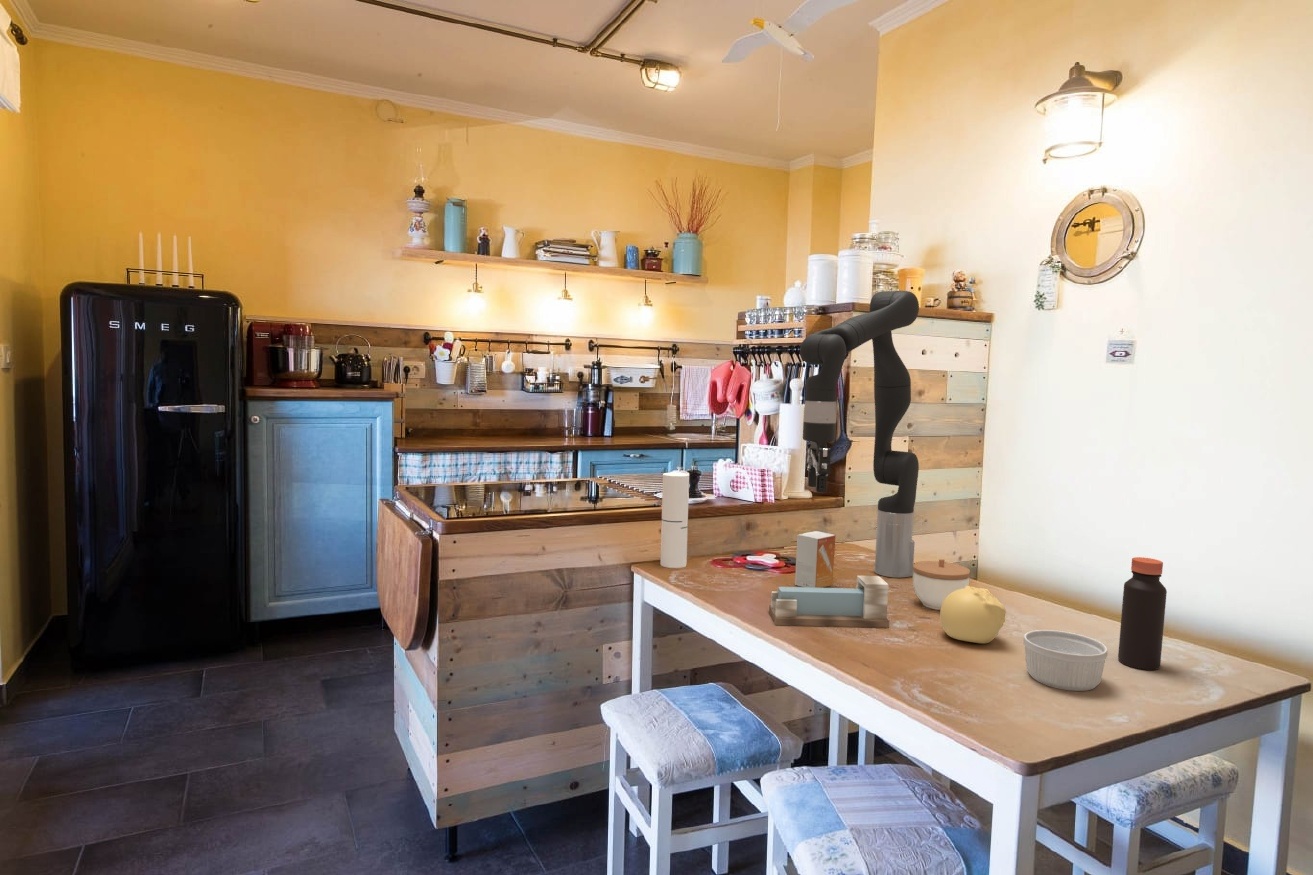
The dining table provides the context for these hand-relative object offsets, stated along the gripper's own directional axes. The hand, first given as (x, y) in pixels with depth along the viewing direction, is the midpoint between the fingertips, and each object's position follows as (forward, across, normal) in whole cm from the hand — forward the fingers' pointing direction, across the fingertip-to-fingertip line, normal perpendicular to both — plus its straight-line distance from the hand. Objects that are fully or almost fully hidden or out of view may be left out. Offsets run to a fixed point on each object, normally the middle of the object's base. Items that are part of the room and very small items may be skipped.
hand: (816, 489), depth 179 cm
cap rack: (+26, -16, 0) cm, 31 cm away
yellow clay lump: (+26, -26, -27) cm, 46 cm away
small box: (+26, +11, -3) cm, 29 cm away
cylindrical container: (+26, +28, +32) cm, 50 cm away
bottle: (+26, -38, -54) cm, 71 cm away
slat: (+25, -16, +1) cm, 29 cm away
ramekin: (+26, -46, -35) cm, 64 cm away
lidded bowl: (+26, -4, -29) cm, 39 cm away
